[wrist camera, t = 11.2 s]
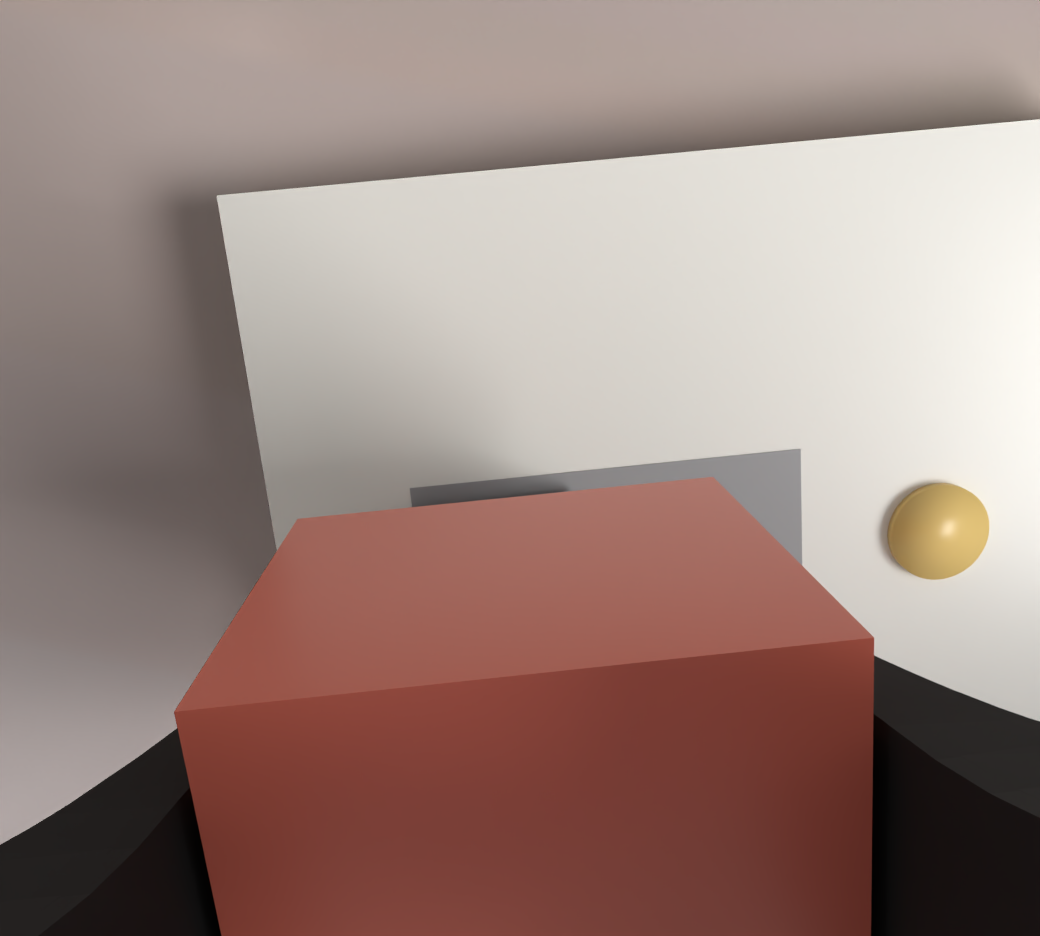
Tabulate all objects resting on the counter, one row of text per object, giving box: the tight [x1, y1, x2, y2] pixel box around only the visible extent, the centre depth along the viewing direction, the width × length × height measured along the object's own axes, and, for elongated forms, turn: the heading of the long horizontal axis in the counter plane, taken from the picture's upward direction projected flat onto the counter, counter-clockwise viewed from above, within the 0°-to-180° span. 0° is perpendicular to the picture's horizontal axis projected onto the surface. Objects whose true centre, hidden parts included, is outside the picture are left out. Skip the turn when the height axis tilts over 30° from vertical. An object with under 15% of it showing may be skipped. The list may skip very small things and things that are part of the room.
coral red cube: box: [174, 477, 874, 936], centre depth 10 cm, size 6×6×5 cm
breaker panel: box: [217, 119, 1040, 721], centre depth 16 cm, size 15×20×4 cm
